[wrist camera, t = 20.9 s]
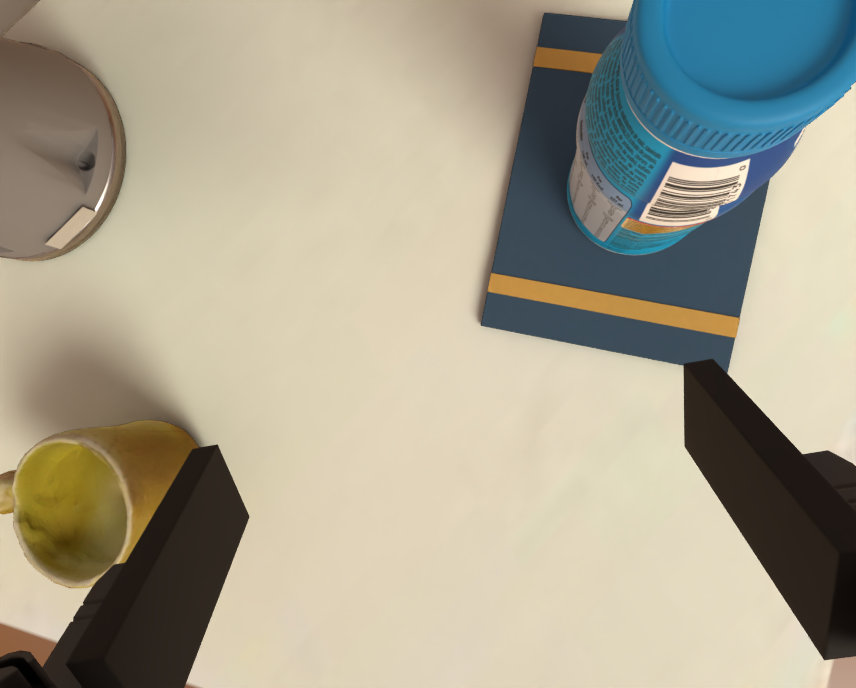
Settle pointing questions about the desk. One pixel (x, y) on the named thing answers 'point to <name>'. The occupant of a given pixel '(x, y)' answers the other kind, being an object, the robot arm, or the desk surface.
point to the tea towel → (588, 262)
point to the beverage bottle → (701, 111)
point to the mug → (91, 495)
